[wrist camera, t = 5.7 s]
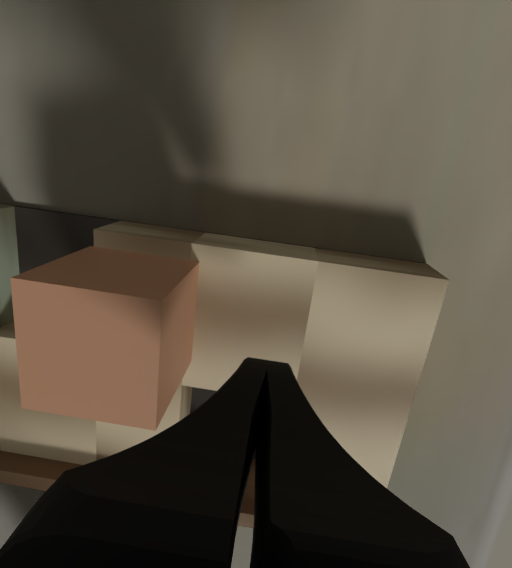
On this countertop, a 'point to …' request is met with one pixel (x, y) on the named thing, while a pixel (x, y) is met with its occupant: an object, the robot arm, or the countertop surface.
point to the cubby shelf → (237, 338)
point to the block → (104, 334)
